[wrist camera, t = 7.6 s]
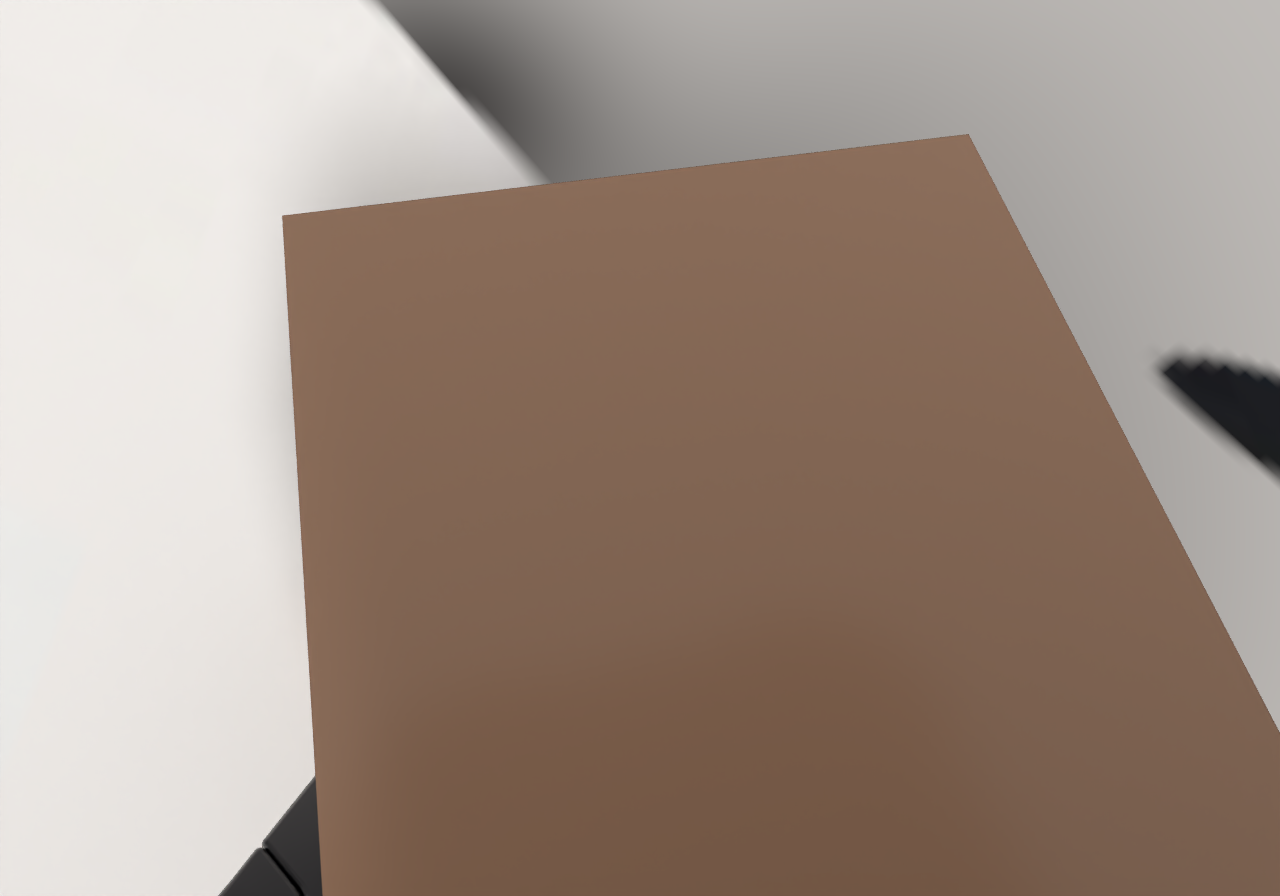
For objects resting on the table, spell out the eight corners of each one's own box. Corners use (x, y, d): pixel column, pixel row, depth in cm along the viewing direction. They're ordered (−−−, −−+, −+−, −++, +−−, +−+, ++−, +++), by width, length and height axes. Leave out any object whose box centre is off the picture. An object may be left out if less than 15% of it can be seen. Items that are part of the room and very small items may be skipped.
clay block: (707, 859, 14) (1523, 1203, 2) (549, 902, 13) (368, 1680, 2) (659, 655, 15) (969, 134, 3) (515, 687, 15) (282, 217, 3)
